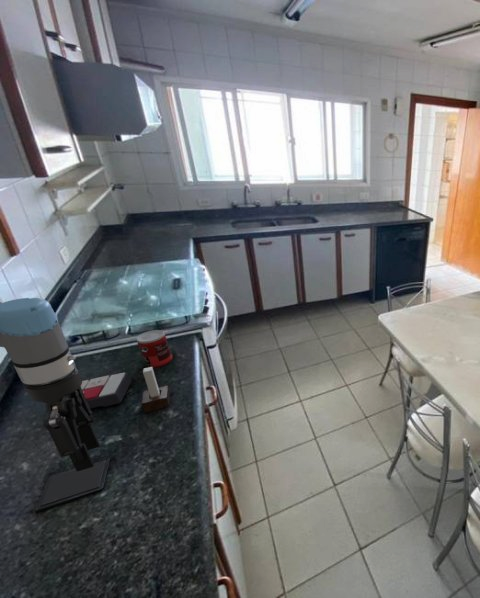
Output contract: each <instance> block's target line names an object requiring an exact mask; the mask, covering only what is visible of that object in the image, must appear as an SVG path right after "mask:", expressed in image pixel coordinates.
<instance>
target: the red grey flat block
mask: <svg viewBox="0 0 480 598" xmlns="http://www.w3.org/2000/svg"><path fill="white" fill-rule="evenodd" d="M132 381H133V380H132V379H131V376H130V374H129V372H128V371H125V372H124V371H123V372H120V373H115V374H111V375H103V376H99V377H95V378H91V379H90V380H89V379H86V380H85V379H84V380H82V384H81V389H82V391H83V393H84V396H85V398H86V400H87V402H88V405H89V407H90V409H91V410H92V409H94V408H98V407H110V406H114V405H118V404H121V403H122V402H123V399H124V397H125V395H126V394H127V391H128V389H129V388H130V385H131V384H132Z"/></svg>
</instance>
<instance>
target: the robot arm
mask: <svg viewBox="0 0 480 598" xmlns="http://www.w3.org/2000/svg"><path fill="white" fill-rule="evenodd" d="M0 348H4V349H5V351H6V353H7V354H8V356H9V358H10V360H11V362H12V365H13V367H14V369H15V370H16V373H17V375H18V377H19V379H20V381H21V382H22V383H23V385H24V388H25V390H26V392H27V394H28V396H29V398H30V400H32V401H34V402H38V403H42V404H45V409H46V410H45V411H46V412H47V413H48V414H49V416H50V417H49V419H44V420H43V423H42V424H43V425H42V426H43V427H44V428H45V429H46V430H47V431H48V433H49V435H50V437H51V439H52V442H53V443H54V445H55V447H56V449H57V452H58V453H59V456H60V457H61V458H64V457H67V456H69V459H70V461H71V463H72V465H73V467H74V469H76V471H77V472H78V471H81V470H84V469H88V468H91V467H93V466H94V463H95V462H94V461H93V459H92V456H91V455H90V453H89V451H91V450H93V449H97V448H99V447H100V445H101V444H100V441H99V439H98V437H97V434H96V432H95V430H94V428H93V426H92V423H95V422H96V417H95V416H94V417H92V415H93V412H92V408H91V409H90V407H89V405H88V402H87V400H86V398H85V396H84V393H83V391H82V389H81V384H82V381H83V379H82V376H81V374H80V371H79V369H78V367H77V366H76V363H75V360H77V356H76V355H73V354H72V353H71V351H70V348H69V346H68V342H67V340H66V337H65V334H64V332H63V329H62V327H61V324H60V322H59V316H58V315H57V314H56V312H55V311H54V309H53V307H52V305H51V303H50V302H49V301H47V300H46V299H44V298H41V297H31V298H29V297H22V298H16V299H11V300H7V301H4V302H0Z"/></svg>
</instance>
